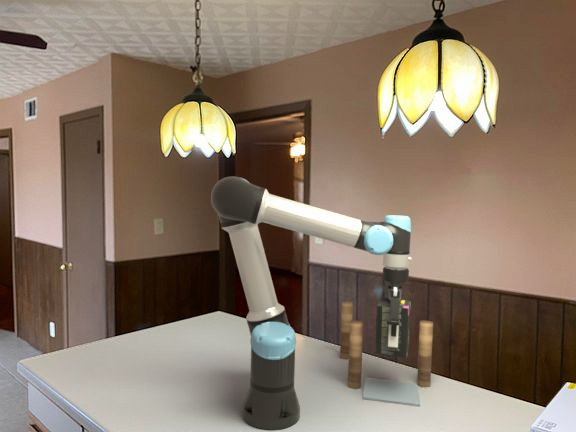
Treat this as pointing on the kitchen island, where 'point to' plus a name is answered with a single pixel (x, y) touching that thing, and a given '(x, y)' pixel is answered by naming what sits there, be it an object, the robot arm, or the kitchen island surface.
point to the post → (425, 353)
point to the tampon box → (383, 328)
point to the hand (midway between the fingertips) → (392, 339)
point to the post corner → (355, 354)
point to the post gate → (345, 329)
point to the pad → (391, 391)
